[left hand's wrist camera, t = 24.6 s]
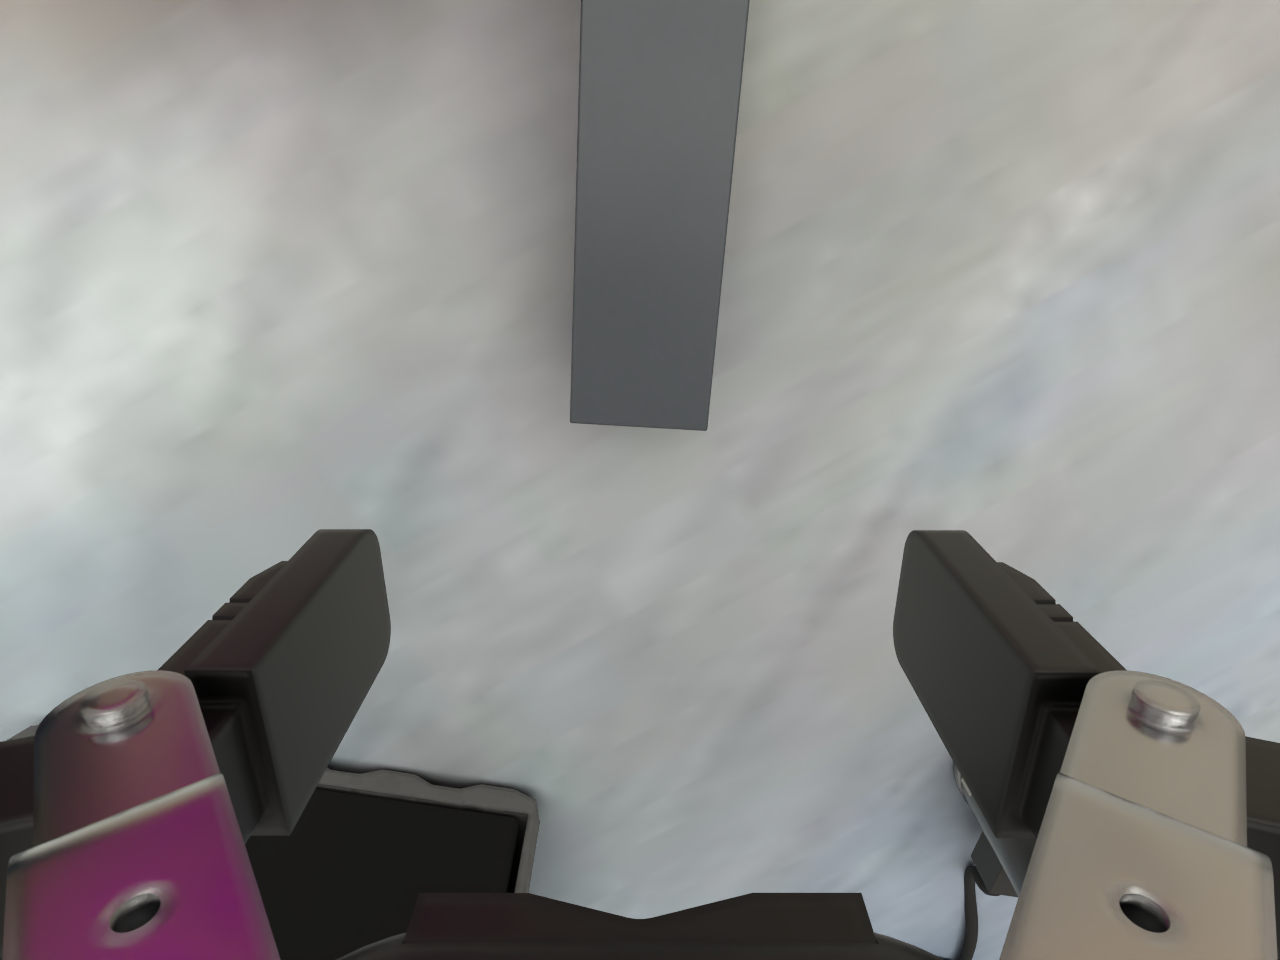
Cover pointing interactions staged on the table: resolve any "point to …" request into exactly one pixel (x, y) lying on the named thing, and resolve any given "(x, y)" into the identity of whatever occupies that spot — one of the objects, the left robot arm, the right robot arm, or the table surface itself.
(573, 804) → the table surface
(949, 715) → the left robot arm
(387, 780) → the cooler
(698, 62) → the box
